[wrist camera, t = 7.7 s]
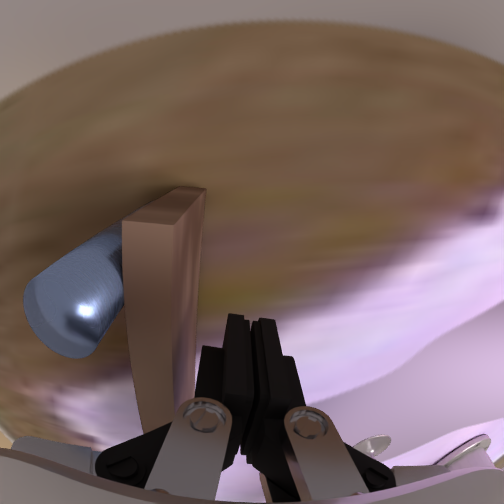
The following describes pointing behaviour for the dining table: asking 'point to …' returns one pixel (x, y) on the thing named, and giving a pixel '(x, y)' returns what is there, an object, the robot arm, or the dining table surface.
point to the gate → (163, 300)
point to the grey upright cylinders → (79, 295)
